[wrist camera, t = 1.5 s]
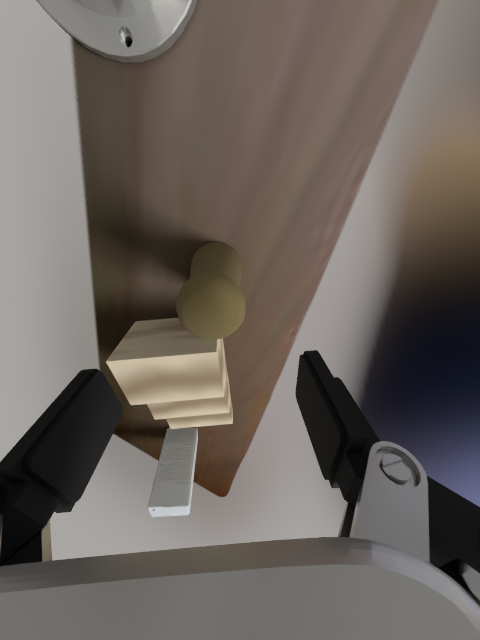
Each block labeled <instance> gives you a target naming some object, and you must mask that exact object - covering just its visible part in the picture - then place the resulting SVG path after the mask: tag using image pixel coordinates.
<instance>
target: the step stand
mask: <svg viewBox="0 0 480 640" xmlns="http://www.w3.org/2000/svg"><path fill="white" fill-rule="evenodd" d="M106 363H107V364H108V366H109V368H110V370H111V371H112V373H113V375H114V377H115V378H116V380H117V382H118V383H119V385H120V387H121V389H122V390H123V392H124V394H125V396H126V397H127V399H128V401H129V403H130V404H131V405H139V404H147V405H148V407H149V409H150V411H151V413H152V415H153V417H154V419H166V420H167V422H168V424H169V426H170V428H171V429H177V428H188V427H199V426H210V425H222V424H233V410H232V403H231V396H230V389H229V381H228V374H227V367H226V360H225V353H224V346H223V338H221V339H215V340H209V339H202V338H200V337H197V336H195V335H193V334H192V333H190V332H189V331H188V330H187V329H186V328H185V327H184V326H183V324H182V323H181V322H180V320H179V318H169V319H157V320H145V321H135V323H134V324H133V325H132V327H131V328H130V330H129V331H128V332H127V334H126V335H125V336H124V338H123V339H122V340H121V342H120V343H119V344H118V346H117V347H116V349H115V350H114V351H113V353H112V354H111V355H110V357H109V358H108V359H107V361H106Z"/></svg>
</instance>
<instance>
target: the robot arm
mask: <svg viewBox="0 0 480 640" xmlns="http://www.w3.org/2000/svg"><path fill="white" fill-rule="evenodd" d="M36 1H37V2H38V3H39V4H40V5H41V6H42V7H43V9H44V10H45V11H46V12H47V13H48V14H49V15H50V17H51V18H52V19H54V20H55V22H57V23H58V25H59V26H60V27H61V28H63V30H65V31H66V32H67V33H68V34H69V35H70V36H72V37H73V38H74V39H75V40H77V41H78V42H79V43H80V44H82V45H83V46H84V47H86V48H87V49H89V50H91V51H93V52H95V53H97V54H99V55H100V56H102V57H104V58H108V59H111V60H115V61H118V62H122V63H140V62H143V61H146V60H150V59H153V58H156V57H157V56H159V55H160V54H161V53H163V52H164V51H166V50H167V49H169V48H170V47H171V46H172V45H173V43H174V42H175V41H176V40H177V39H178V38H179V37H180V35H181V34H182V33H183V31H184V29H185V27H186V26H187V24H188V22H189V20H190V18H191V17H192V15H193V12H194V9H195V6H196V3H197V1H198V0H36ZM129 41H133V42H132V45H131V46H130V47H128V42H129ZM296 398H297V402H298V405H299V408H300V411H301V413H302V417H303V420H304V422H305V425H306V428H307V431H308V434H309V437H310V440H311V443H312V446H313V448H314V451H315V454H316V457H317V460H318V463H319V466H320V469H321V472H322V474H323V477H324V478H325V480H329V482H330V485H331V487H332V488H340V490H341V492H342V495H343V498H344V500H346V505H345V509H344V514H343V518H342V522H341V526H340V531H339V535H338V537H320V538H305V539H291V540H274V541H263V542H252V543H239V544H228V545H217V546H205V547H194V548H182V549H171V550H161V551H150V552H139V553H128V554H118V555H107V556H97V557H86V558H76V559H66V560H55V561H52V552H51V537H50V536H51V534H50V518H51V516H52V514H53V512H56V513H61V512H71V510H72V508H73V506H74V504H75V502H77V501H78V500H79V499H80V498H81V496H82V494H83V492H84V490H85V488H86V486H87V484H88V482H89V480H90V478H91V476H92V474H93V472H94V470H95V468H96V466H97V464H98V462H99V460H100V458H101V456H102V454H103V452H104V450H105V448H106V446H107V444H108V442H109V440H110V438H111V436H112V434H113V432H114V430H115V428H116V426H117V424H118V422H119V420H120V418H121V416H122V414H123V407H122V405H121V403H120V402H119V400H118V398H117V396H116V395H115V393H114V391H113V390H112V388H111V386H110V384H109V383H108V381H107V379H106V378H105V376H104V374H103V373H102V372H100V371H99V370H98V369H87V370H82V371H80V372H79V373H78V374H77V376H76V377H75V378H74V379H73V380H72V381H71V382H70V383H69V384H68V386H67V387H66V388H65V389H64V390H63V391H62V393H61V394H60V395H59V396H58V397H57V398H56V399H55V401H54V402H53V403H52V404H51V405H50V406H49V407H48V408H47V410H46V411H45V412H44V413H43V414H42V415H41V416H40V418H39V419H38V420H37V421H36V422H35V423H34V424H33V425H32V427H31V428H30V429H29V430H28V431H27V432H26V433H25V435H24V436H23V437H22V438H21V439H20V440H19V442H18V443H17V444H16V445H15V446H14V447H13V448H12V450H11V451H10V452H9V453H8V454H7V455H6V456H5V457H4V458H3V460H2V461H1V462H0V640H480V507H478V506H477V505H475V504H473V503H472V502H470V501H468V500H467V499H465V498H463V497H461V496H460V495H458V494H457V493H454V492H453V491H452V490H450V489H448V488H446V487H445V486H443V485H441V484H440V483H438V482H436V481H435V480H433V479H431V478H430V477H428V476H426V473H425V471H424V469H423V467H422V465H421V464H420V463H419V462H418V460H417V459H416V458H415V457H414V456H413V455H412V454H411V453H410V452H408V451H407V450H406V449H404V448H402V447H401V446H399V445H397V444H394V443H391V442H385V441H382V442H380V440H379V439H378V437H377V436H376V434H375V432H374V431H373V429H372V428H371V426H370V424H369V423H368V421H367V420H366V418H365V417H364V415H363V413H362V412H361V410H360V409H359V407H358V406H357V404H356V402H355V401H354V399H353V398H352V396H351V395H350V393H349V391H348V390H347V388H346V387H345V385H344V383H343V382H342V381H341V380H340V379H339V378H338V377H335V378H334V377H333V375H332V374H331V372H330V370H329V369H328V367H327V365H326V364H325V362H324V360H323V359H322V357H321V355H320V354H319V352H318V351H317V350H315V351H305V352H304V354H303V355H300V359H299V368H298V377H297V385H296Z"/></svg>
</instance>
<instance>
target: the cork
mask: <svg viewBox="0 0 480 640" xmlns="http://www.w3.org/2000/svg"><path fill="white" fill-rule="evenodd" d="M242 274H243V264H242V260H241V258H240V256H239V254H238V253H237V252H236V251H235V250H234V248H232V247H230V246H229V245H227V244H225V243H220V242H212V243H207V244H205V245H203V246H201V247H200V248H199V249H198V250H197V251H196V252H195V254H194V256H193V258H192V260H191V272H190V279H189V280H188V281H187V282H186V283H185V284H184V285H183V286H182V288H181V290H180V292H179V295H178V297H177V307H176V308H177V314H178V317H179V320H180V322H181V323H182V324H183V326H184V327H185V328H186V329H187V330H188V331H189V332H190V333H192V334H193V335H195V336H197V337H200V338H202V339H209V340H215V339H221V338H224V337H226V336H229V335H230V334H232V333H233V332H234V331H235V330H237V329H238V327H239V326H240V324H241V323H242V321H243V319H244V315H245V311H246V304H245V297H244V294H243V292H242V290H241V288H240V284H241V279H242Z"/></svg>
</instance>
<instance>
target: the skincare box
mask: <svg viewBox="0 0 480 640" xmlns="http://www.w3.org/2000/svg"><path fill="white" fill-rule="evenodd" d="M197 442H198V429H197V428H177V429H171V428H167V431H166V435H165V439H164V443H163V447H162V451H161V455H160V459H159V463H158V467H157V471H156V475H155V480H154V484H153V488H152V492H151V496H150V500H149V503H148V509H149V512H150V514H151V516H152V517H160V516H179V515H189V514H190V506H191V505H190V504H191V497H192V487H193V478H194V469H195V460H196V450H197Z"/></svg>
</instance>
